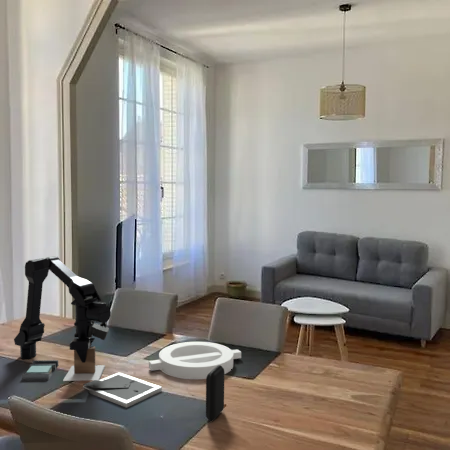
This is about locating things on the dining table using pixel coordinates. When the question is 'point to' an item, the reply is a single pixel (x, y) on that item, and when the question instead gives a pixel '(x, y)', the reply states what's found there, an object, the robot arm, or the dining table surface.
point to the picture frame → (122, 389)
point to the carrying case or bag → (214, 393)
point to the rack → (40, 375)
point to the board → (84, 374)
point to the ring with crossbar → (194, 359)
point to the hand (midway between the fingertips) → (84, 361)
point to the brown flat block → (88, 365)
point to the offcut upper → (39, 369)
